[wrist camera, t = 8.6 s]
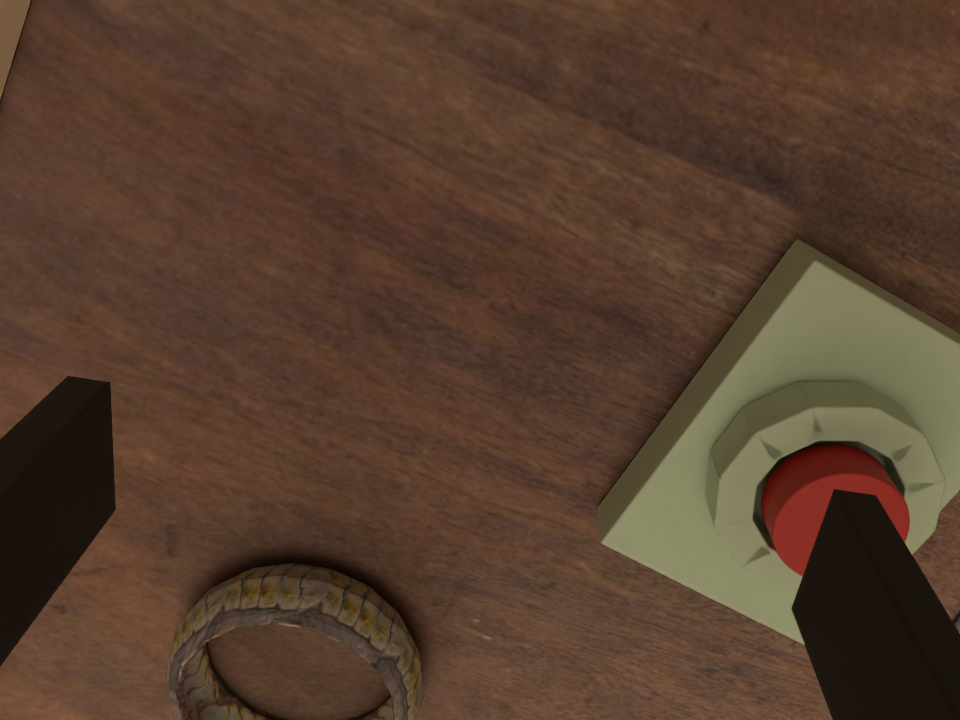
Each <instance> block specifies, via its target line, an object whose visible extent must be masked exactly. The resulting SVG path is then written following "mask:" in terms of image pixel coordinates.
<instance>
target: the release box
mask: <svg viewBox="0 0 960 720" xmlns="http://www.w3.org/2000/svg"><path fill="white" fill-rule="evenodd" d="M825 444H841V445H847V446H852V447H855V448H858V449H861V450H863V451H865V452H867V453H869V454H870V455H872V456H873V457H874V458H875V459H877V460H878V461H879V462H880V463H881V465H882V466H883V467H884V469H885V470H886V472H887V473H888V475H889V476H890V478H891V479H892V481H893V482H894V484H895V486H896V487H897V489H898V490H899V492H900V493H901V495H902V496H903V498H904V500H905V501H906V504H907V506H908V510H909V515H910V526H909V532H908V535H907V539H906V541H905V544H906V546H907V547H908V549H909V551H910V552H911V554H912V555H913V553H914V552H915V551H916V550H917V549H918V548H919V547H920V546H921V545H922V544H923V543H924V542H925V541H926V540H927V539H928V538H929V537H930V536H931V535H932V534H933V533H934V531H935V529H936V525H937V520H938V516H939V511H940V510H941V509H942V508H943V507H944V506H945V505H946V504H947V503H948V502H949V501H950V500H951V499H952V498H953V497H954V496H955V495H956V494H957V492H958V491H959V490H960V333H958V332H956V331H955V330H953V329H951V328H950V327H948V326H946V325H944V324H943V323H941V322H939V321H938V320H936V319H934V318H932V317H931V316H929V315H927V314H926V313H924V312H922V311H920V310H919V309H917V308H915V307H914V306H912V305H910V304H908V303H907V302H905V301H903V300H902V299H900V298H898V297H896V296H895V295H893V294H891V293H890V292H888V291H886V290H884V289H883V288H881V287H879V286H878V285H876V284H874V283H873V282H871V281H869V280H867V279H866V278H864V277H862V276H861V275H859V274H857V273H855V272H854V271H852V270H850V269H849V268H847V267H845V266H843V265H842V264H840V263H838V262H837V261H835V260H833V259H831V258H830V257H828V256H826V255H825V254H823V253H821V252H819V251H818V250H816V249H814V248H813V247H811V246H809V245H808V244H806V243H804V242H802V241H801V240H799V239H796V240H795V241H794V243H793V244H792V245H791V247H790V248H789V249H788V251H787V252H786V253H785V255H784V256H783V257H782V259H781V260H780V261H779V263H778V264H777V266H776V267H775V268H774V270H773V271H772V272H771V274H770V275H769V276H768V278H767V279H766V280H765V282H764V283H763V284H762V286H761V287H760V289H759V290H758V291H757V293H756V294H755V295H754V297H753V298H752V299H751V301H750V302H749V303H748V305H747V306H746V307H745V309H744V310H743V312H742V313H741V314H740V316H739V317H738V318H737V320H736V321H735V322H734V324H733V325H732V326H731V328H730V329H729V330H728V332H727V333H726V335H725V336H724V337H723V339H722V340H721V341H720V343H719V344H718V345H717V347H716V348H715V349H714V351H713V352H712V353H711V355H710V356H709V358H708V359H707V360H706V362H705V363H704V364H703V366H702V367H701V368H700V370H699V371H698V372H697V374H696V375H695V376H694V378H693V379H692V381H691V382H690V383H689V385H688V386H687V387H686V389H685V390H684V391H683V393H682V394H681V395H680V397H679V398H678V399H677V401H676V402H675V404H674V405H673V406H672V408H671V409H670V410H669V412H668V413H667V414H666V416H665V417H664V418H663V420H662V421H661V422H660V424H659V425H658V427H657V428H656V429H655V431H654V432H653V433H652V435H651V436H650V437H649V439H648V440H647V441H646V443H645V444H644V445H643V447H642V448H641V450H640V451H639V452H638V454H637V455H636V456H635V458H634V459H633V460H632V462H631V463H630V464H629V466H628V467H627V468H626V470H625V471H624V473H623V474H622V475H621V477H620V478H619V479H618V481H617V482H616V483H615V485H614V486H613V487H612V489H611V490H610V491H609V493H608V494H607V496H606V497H605V498H604V500H603V501H602V502H601V504H600V505H599V506H598V508H597V512H598V522H599V531H600V541H601V543H602V544H603V545H605V546H607V547H609V548H611V549H613V550H615V551H617V552H619V553H621V554H623V555H625V556H627V557H629V558H631V559H633V560H635V561H637V562H639V563H641V564H643V565H645V566H647V567H649V568H651V569H653V570H655V571H657V572H659V573H661V574H663V575H665V576H667V577H669V578H671V579H673V580H675V581H677V582H679V583H681V584H683V585H685V586H687V587H689V588H691V589H693V590H695V591H697V592H699V593H701V594H703V595H705V596H707V597H709V598H711V599H713V600H715V601H717V602H719V603H721V604H723V605H725V606H727V607H729V608H731V609H733V610H735V611H737V612H739V613H741V614H743V615H745V616H747V617H749V618H751V619H753V620H755V621H757V622H759V623H761V624H763V625H765V626H767V627H769V628H771V629H773V630H775V631H777V632H779V633H781V634H783V635H785V636H787V637H789V638H791V639H793V640H795V641H797V642H799V643H801V644H803V645H805V644H804V641H803V639H802V636H801V633H800V631H799V628H798V625H797V623H796V620H795V617H794V615H793V612H792V609H791V608H792V605H793V602H794V600H795V597H796V594H797V591H798V588H799V586H800V583H801V580H802V577H803V576H801V575H799V574H797V573H796V572H794V571H792V570H791V569H790V568H789V567H787V566H786V564H785V563H784V562H783V561H782V560H781V559H780V557H779V556H778V554H777V552H776V549H775V547H774V544H773V542H772V539H771V537H770V534H769V532H768V529H767V526H766V524H765V521H764V519H763V515H762V511H761V497H762V492H763V489H764V486H765V484H766V482H767V480H768V478H769V477H770V475H771V474H772V472H773V471H774V470H775V469H776V468H777V467H778V466H779V465H780V464H781V463H782V462H783V461H784V460H786V459H787V458H789V457H790V456H792V455H794V454H795V453H797V452H799V451H802V450H804V449H807V448H810V447H814V446H818V445H825Z"/></svg>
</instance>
